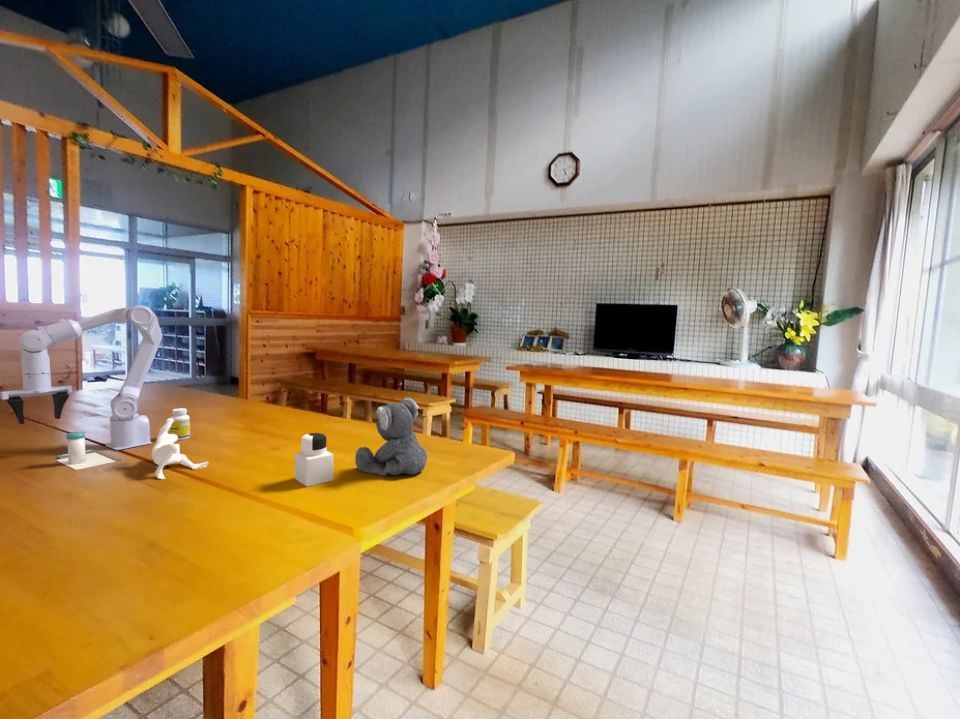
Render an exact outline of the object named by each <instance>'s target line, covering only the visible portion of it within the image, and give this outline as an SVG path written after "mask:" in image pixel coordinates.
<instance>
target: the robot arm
mask: <svg viewBox="0 0 960 719" xmlns="http://www.w3.org/2000/svg"><path fill="white" fill-rule="evenodd" d="M128 322H130V323H131V324H132V325H133V326H134V327H136V329H137V330H138V332H139V334H140V335H141V336H142V340H141V341H140V345H139V347H138V349H137V351H136V353H135V356H134V359H133V361H132V363H131V366H130V368H129V371H128V372H127V374H126V377H125V380H124V382H123V384H122V386H121V388H120V390H119V392H118V393H117V394H116V396H114V397H113V398H112V399H111V401H110V408H111V409H110V410H111V413H112V415H111V416H110V417H109V427H110V428H109V430H110V431H109V432H110V443H107V444H105V447H107V448H108V449H109V448H110V449H112V450H114V451H120V450H125V449H129V448H135V447H140V446H145V445H146V446H147V445H150V444H152V441H151V429H150V428H151V426H150V420H149V418H148V417H147V415H145V414H143V415H140V414H139V413H137V412H138V409H139V408H138V400H139V398H140V394H141V389H142V388H143V385H144V382H145V380H146V378H147V376H148V373H149V371H150V368H151V366H152V364H153V361H154V359H155V356H156V354H157V351H158V350H159V347H160V345H161V342H162V340H163V334H162V331H161V330H162V329H161V327H160V324H159V320H158V317H157V315H156V314H155V313H154V311H153V310H152V309H151V308H150V307H148V306H145V305H139V304H138V305H137V304H136V305H132V306H131V307H129V306H127V307H121V308H116V309H115V308H114V309H112V310H109V311H106V312H103V313H100V314H97V315H94V316H91V317H87V318H85V319H82V320H79V321H76V320H75V319H74V320H73V319H70V318H68V319H65V318H60V319H58V320H57V322H55V323H52V324H48V325H46V326H42V325H39V326H37V327H36V328H37V330H33V329H32V330H28V331H26V332H24V333H22V334H21V335H20V336H19V339H18V343H19V346H20V347H21V351H20V354H21V357H20V361H21V374H22V385H23V386H22V387H23V388H21V389H14V390H7V391H4V390H3V391H0V399H1V400H4V401H5V402H6V403H7V404H8V405H9V406H10V407H11V410H12V411H13V413H14V414H15V416H16V420H17V421H18V424H20V425H25V416H24V415H25V414H24V400H23V399H22V398H27V397H35V396H36V397H37V396H38V397H39V396H46V395H47V396H48V395H51V396H52V397H51V398H52V401H53V414H54V415H53V416H54V419H57V420H60V419H61V415H62V413H63V409H64V406H65V404H66V402H67V401H68V399H69V397H70V393H71V394H72V393H73V386H72V385H59V386H58V385H57V386H56V385H55V386H52V377H51V376H52V374H51V364H50V363H51V362H50V361H51V360H50V356H49V350H48V346H53V347H55V346H57V345H58V346H59V345H60V344H63V343H67V342H70V341H73V340H76V339H79V338H81V336H82V335H83V332H85V331H88V330H92V329H96V328H99V327H102V326H105V325H109V324H113V323H120V324H121V323H123V324H127V323H128Z"/></svg>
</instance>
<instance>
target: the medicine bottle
mask: <svg viewBox="0 0 960 719" xmlns="http://www.w3.org/2000/svg"><path fill="white" fill-rule="evenodd" d="M300 442H301V443H300V444H301V445H300V447H301V450H300V451H298V452H295V454H294V476H295V477H294V479H295V481H298V482H299V483H301V484H302V485H304V486H305V487H307V488H309V487H312V486H317V485H321V484H324V483H328V482H329V483H330V482H333V480H334V454H333V453H331V452H330V451H328V450H327V435H325V434H324V433H321V432H310V433H306V434H304V435H303V436H301V437H300Z"/></svg>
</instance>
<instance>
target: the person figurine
mask: <svg viewBox="0 0 960 719" xmlns="http://www.w3.org/2000/svg"><path fill="white" fill-rule="evenodd" d="M173 422H174V420H173V419H172V418H171V417H169V418H166V419H165V423H164V424H163V425H162V426H161V427H160V429H159V432H158V433H157V438H156V440H155V445H154V446H153V448H152V450H151V457H152V460H153V462H154V464H156V465H157V468H156V470H154V474H155V476H156V478H158V479H159V480H166V477H165V475H164V473H163V469H164V467H165V466H166V465H171V464H178V463H180V464H181V465H182V466H185V467H189V468H191V469H192V470H193V469H195V470H199V469H198V468H200V469H203V467H204V468H207V466H209V461H205V462H202V463H193V462H192V461H191V460H189V459H188V457H187V455H185V454H182V453H180V443H176V442H177V441H179V440H178V436H177V435H175V434H171V433H168V431H170V430H171V424H172V423H173Z"/></svg>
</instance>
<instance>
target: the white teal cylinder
mask: <svg viewBox="0 0 960 719" xmlns="http://www.w3.org/2000/svg"><path fill="white" fill-rule="evenodd" d="M85 437H86V432H85V431H73V432H71V431H70V432H68V433H66V443H67V454H68V460H69V464H80V463H84V462H86V453H85V450H86V439H85Z"/></svg>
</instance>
